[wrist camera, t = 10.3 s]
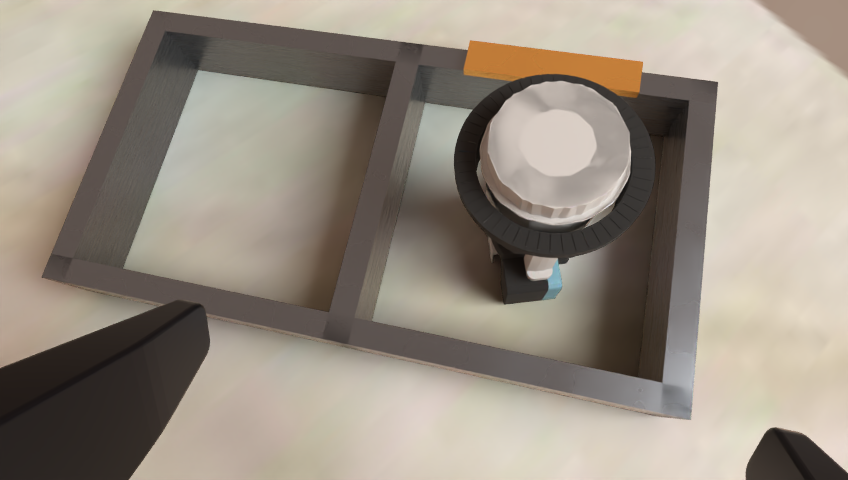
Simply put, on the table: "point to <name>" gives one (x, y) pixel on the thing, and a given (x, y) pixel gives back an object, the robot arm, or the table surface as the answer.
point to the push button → (551, 175)
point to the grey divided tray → (395, 193)
